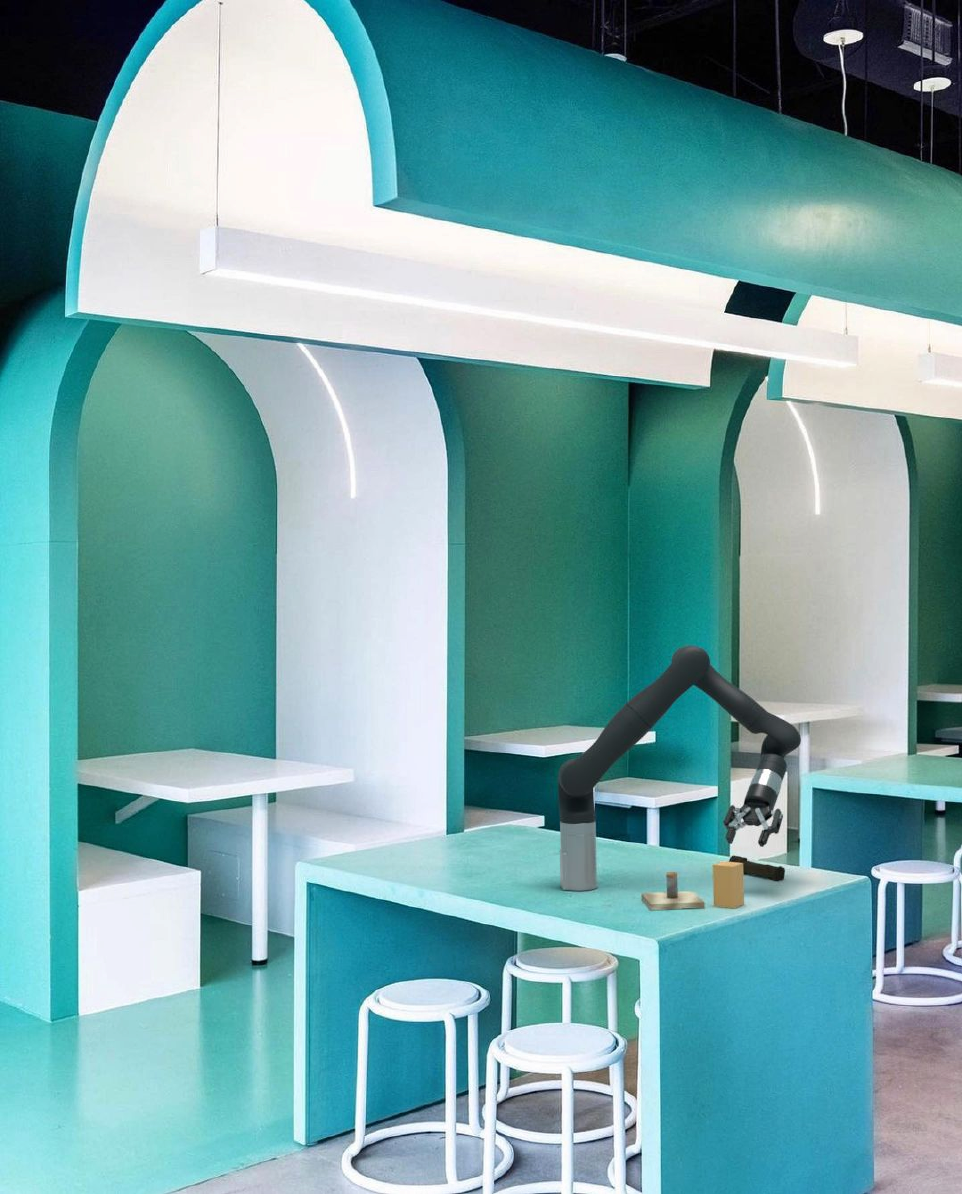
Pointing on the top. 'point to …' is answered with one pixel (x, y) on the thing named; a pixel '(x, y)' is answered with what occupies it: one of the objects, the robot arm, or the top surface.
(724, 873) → the tall orange pillar
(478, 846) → the top surface
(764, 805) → the robot arm
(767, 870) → the hand tool
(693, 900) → the post board
